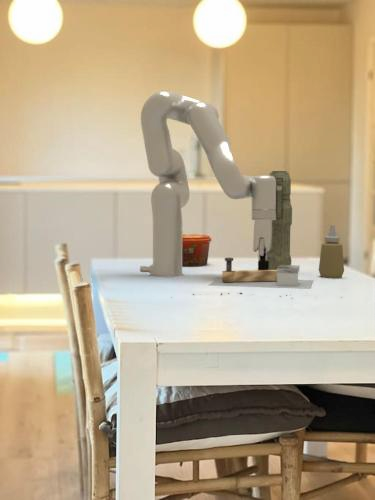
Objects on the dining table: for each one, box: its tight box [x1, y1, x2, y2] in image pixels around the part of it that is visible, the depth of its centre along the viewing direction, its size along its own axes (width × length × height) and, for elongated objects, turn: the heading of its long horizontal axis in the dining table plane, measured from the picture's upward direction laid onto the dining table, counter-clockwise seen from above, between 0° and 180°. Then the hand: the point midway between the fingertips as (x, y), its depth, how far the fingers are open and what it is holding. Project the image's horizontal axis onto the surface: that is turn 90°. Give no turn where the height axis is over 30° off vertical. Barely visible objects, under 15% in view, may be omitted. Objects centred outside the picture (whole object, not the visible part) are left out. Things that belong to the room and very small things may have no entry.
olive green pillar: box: [268, 170, 293, 270], centre depth 291 cm, size 9×12×35 cm
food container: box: [182, 233, 212, 267], centre depth 323 cm, size 16×16×11 cm
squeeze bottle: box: [318, 224, 345, 279], centre depth 280 cm, size 8×8×18 cm
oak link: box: [221, 257, 277, 282], centre depth 268 cm, size 23×4×7 cm, turn 104°
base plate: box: [208, 276, 314, 290], centre depth 265 cm, size 30×19×2 cm, turn 79°
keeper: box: [277, 264, 300, 286], centre depth 262 cm, size 6×8×5 cm
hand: (263, 273), depth 274 cm, fingers closed
